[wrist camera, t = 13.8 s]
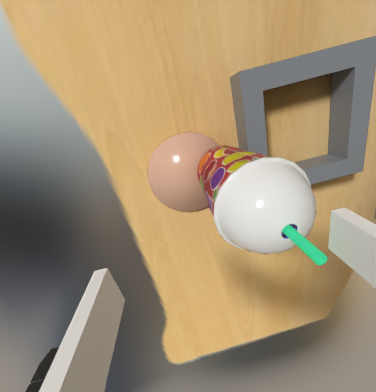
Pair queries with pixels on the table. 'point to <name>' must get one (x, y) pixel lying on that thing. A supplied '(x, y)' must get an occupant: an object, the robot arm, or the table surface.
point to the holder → (339, 105)
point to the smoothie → (259, 201)
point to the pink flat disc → (179, 171)
